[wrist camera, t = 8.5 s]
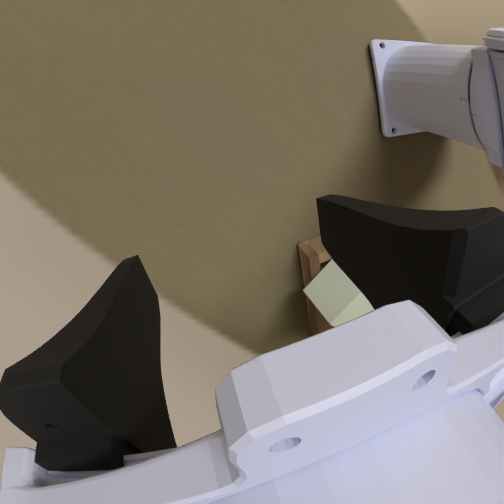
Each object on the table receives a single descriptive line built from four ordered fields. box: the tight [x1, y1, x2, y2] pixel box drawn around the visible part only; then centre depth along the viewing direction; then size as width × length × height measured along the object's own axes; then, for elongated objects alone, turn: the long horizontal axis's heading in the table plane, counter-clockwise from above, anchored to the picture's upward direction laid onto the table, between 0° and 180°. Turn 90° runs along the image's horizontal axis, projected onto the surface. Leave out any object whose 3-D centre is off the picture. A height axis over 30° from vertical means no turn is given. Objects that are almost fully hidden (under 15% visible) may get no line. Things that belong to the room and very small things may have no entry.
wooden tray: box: [297, 236, 334, 337], centre depth 27 cm, size 8×12×2 cm
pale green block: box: [303, 259, 374, 327], centre depth 23 cm, size 4×8×4 cm, turn 47°
